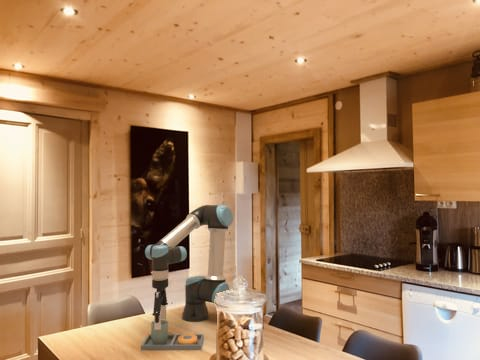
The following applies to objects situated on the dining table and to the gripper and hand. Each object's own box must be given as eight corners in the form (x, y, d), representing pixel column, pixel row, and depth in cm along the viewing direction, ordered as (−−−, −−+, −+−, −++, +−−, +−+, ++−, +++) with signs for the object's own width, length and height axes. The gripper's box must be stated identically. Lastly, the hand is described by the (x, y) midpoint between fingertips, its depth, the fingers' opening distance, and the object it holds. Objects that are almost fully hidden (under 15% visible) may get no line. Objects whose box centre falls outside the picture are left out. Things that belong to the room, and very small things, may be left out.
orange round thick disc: (190, 339, 187) (190, 332, 188) (200, 344, 181) (200, 337, 181) (174, 343, 182) (174, 336, 182) (184, 349, 175) (184, 342, 175)
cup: (171, 343, 182) (171, 321, 183) (160, 348, 176) (160, 326, 176) (159, 339, 186) (159, 318, 187) (147, 345, 180) (147, 323, 180)
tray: (203, 339, 188) (203, 334, 188) (200, 351, 174) (200, 345, 174) (148, 339, 188) (148, 334, 188) (140, 351, 174) (140, 345, 174)
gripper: (157, 273, 195) (158, 315, 194) (145, 285, 170) (146, 334, 169) (172, 272, 195) (173, 315, 194) (163, 285, 170) (163, 333, 169)
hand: (160, 324), depth 182 cm, fingers open, 13 cm apart
